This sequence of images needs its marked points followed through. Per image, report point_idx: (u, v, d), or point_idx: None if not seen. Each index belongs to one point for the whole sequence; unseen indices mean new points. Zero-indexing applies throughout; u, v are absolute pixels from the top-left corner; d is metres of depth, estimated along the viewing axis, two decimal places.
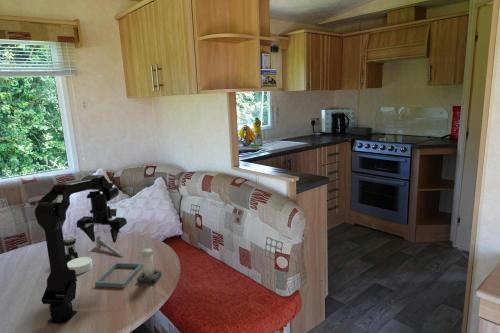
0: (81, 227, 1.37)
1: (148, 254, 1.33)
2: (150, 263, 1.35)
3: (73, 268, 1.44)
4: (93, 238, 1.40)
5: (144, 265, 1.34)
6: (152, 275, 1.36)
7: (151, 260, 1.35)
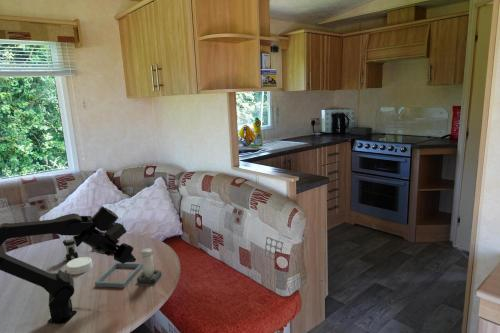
0: (98, 251, 1.27)
1: (148, 254, 1.33)
2: (150, 264, 1.35)
3: (73, 268, 1.44)
4: None
5: (144, 265, 1.34)
6: (152, 275, 1.36)
7: (151, 260, 1.35)
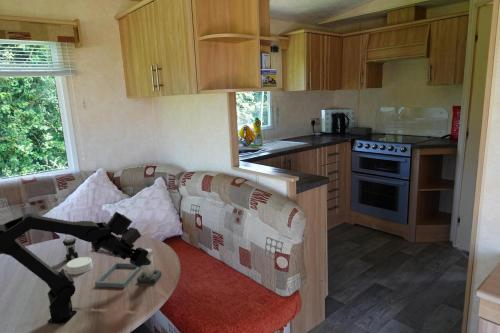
0: None
1: (148, 254, 1.33)
2: None
3: (73, 268, 1.44)
4: None
5: (144, 265, 1.34)
6: (152, 275, 1.36)
7: (151, 260, 1.35)
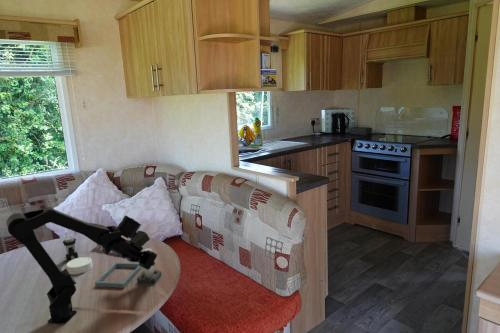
0: None
1: None
2: None
3: (73, 268, 1.44)
4: None
5: None
6: (152, 275, 1.36)
7: None
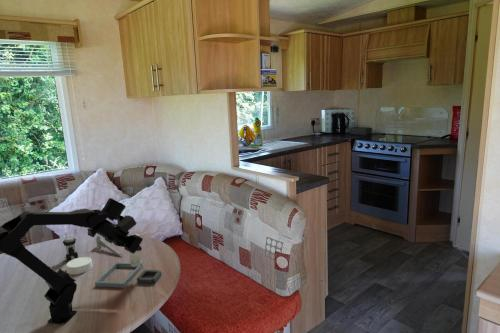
0: (110, 242, 1.35)
1: None
2: None
3: (73, 268, 1.44)
4: None
5: None
6: (139, 260, 1.35)
7: None
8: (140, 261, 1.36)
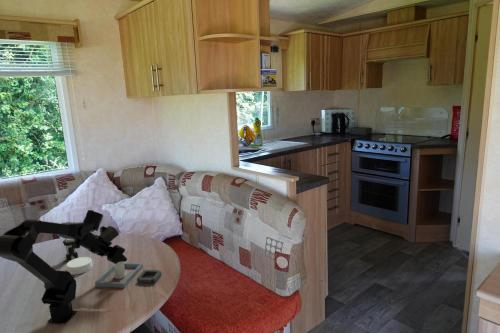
0: None
1: None
2: None
3: (73, 268, 1.44)
4: None
5: None
6: (122, 273, 1.39)
7: None
8: (124, 273, 1.39)
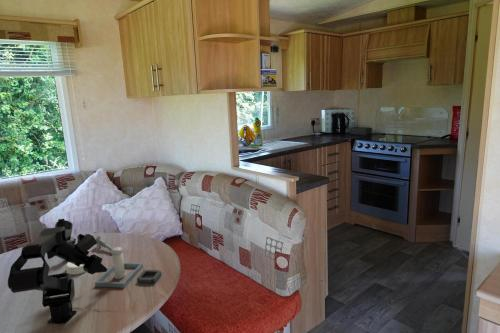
0: None
1: (118, 252, 1.36)
2: (120, 262, 1.37)
3: (73, 268, 1.44)
4: None
5: (114, 263, 1.37)
6: (122, 273, 1.39)
7: (121, 258, 1.38)
8: (124, 274, 1.39)
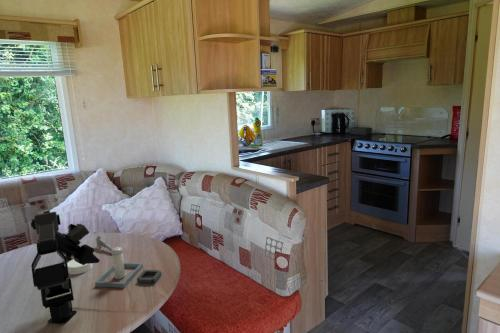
0: None
1: (118, 252, 1.36)
2: (120, 262, 1.37)
3: (73, 268, 1.44)
4: None
5: (114, 263, 1.37)
6: (122, 273, 1.39)
7: (121, 258, 1.38)
8: (124, 274, 1.39)
